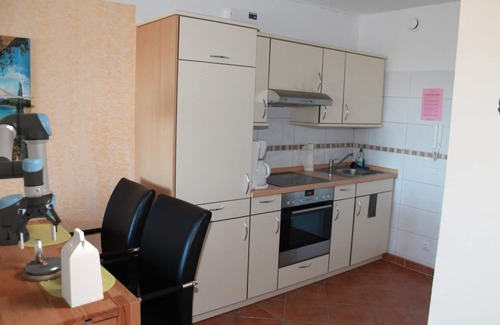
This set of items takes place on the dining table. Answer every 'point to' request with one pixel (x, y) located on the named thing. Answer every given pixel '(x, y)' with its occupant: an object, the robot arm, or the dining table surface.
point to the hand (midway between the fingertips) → (38, 243)
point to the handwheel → (42, 262)
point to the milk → (80, 271)
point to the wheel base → (41, 277)
